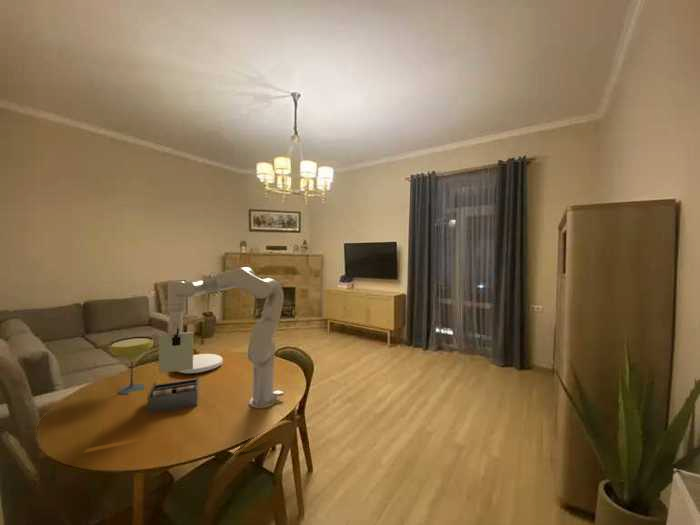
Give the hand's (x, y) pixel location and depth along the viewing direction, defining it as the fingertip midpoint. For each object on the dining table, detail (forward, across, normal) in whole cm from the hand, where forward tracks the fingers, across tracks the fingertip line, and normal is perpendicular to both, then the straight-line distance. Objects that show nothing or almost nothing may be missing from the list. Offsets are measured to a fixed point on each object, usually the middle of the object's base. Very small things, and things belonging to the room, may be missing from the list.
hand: (176, 344), depth 138 cm
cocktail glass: (+28, -21, -22) cm, 41 cm away
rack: (+27, +4, 0) cm, 27 cm away
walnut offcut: (+26, +8, +5) cm, 28 cm away
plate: (+28, -40, +8) cm, 49 cm away
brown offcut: (+26, +8, -4) cm, 28 cm away
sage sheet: (+13, 0, 0) cm, 13 cm away
